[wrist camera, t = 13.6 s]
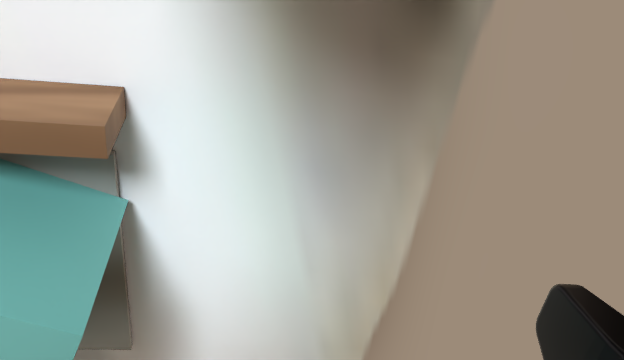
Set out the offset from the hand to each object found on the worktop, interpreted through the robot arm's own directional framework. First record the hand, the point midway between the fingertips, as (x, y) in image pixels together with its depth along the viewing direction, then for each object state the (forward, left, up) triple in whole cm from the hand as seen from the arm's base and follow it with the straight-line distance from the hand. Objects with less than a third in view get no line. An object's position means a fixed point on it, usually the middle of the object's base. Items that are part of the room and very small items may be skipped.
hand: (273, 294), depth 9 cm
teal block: (+11, -9, -13) cm, 19 cm away
